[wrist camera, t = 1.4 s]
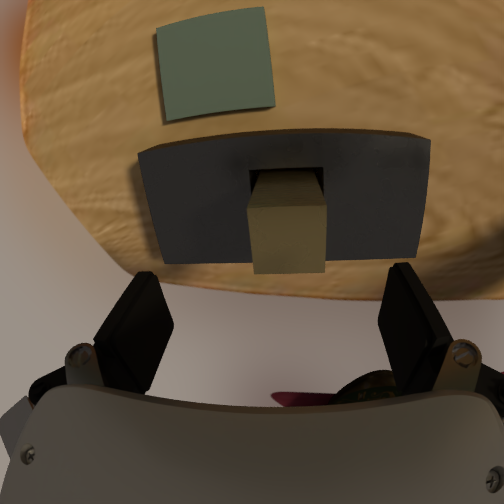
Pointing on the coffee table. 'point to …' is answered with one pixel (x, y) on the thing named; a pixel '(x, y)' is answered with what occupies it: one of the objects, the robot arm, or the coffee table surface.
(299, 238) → the brass plug
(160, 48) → the green mat
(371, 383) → the cup
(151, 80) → the coffee table surface
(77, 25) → the coffee table surface
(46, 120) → the coffee table surface
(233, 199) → the dark square-hole plate
